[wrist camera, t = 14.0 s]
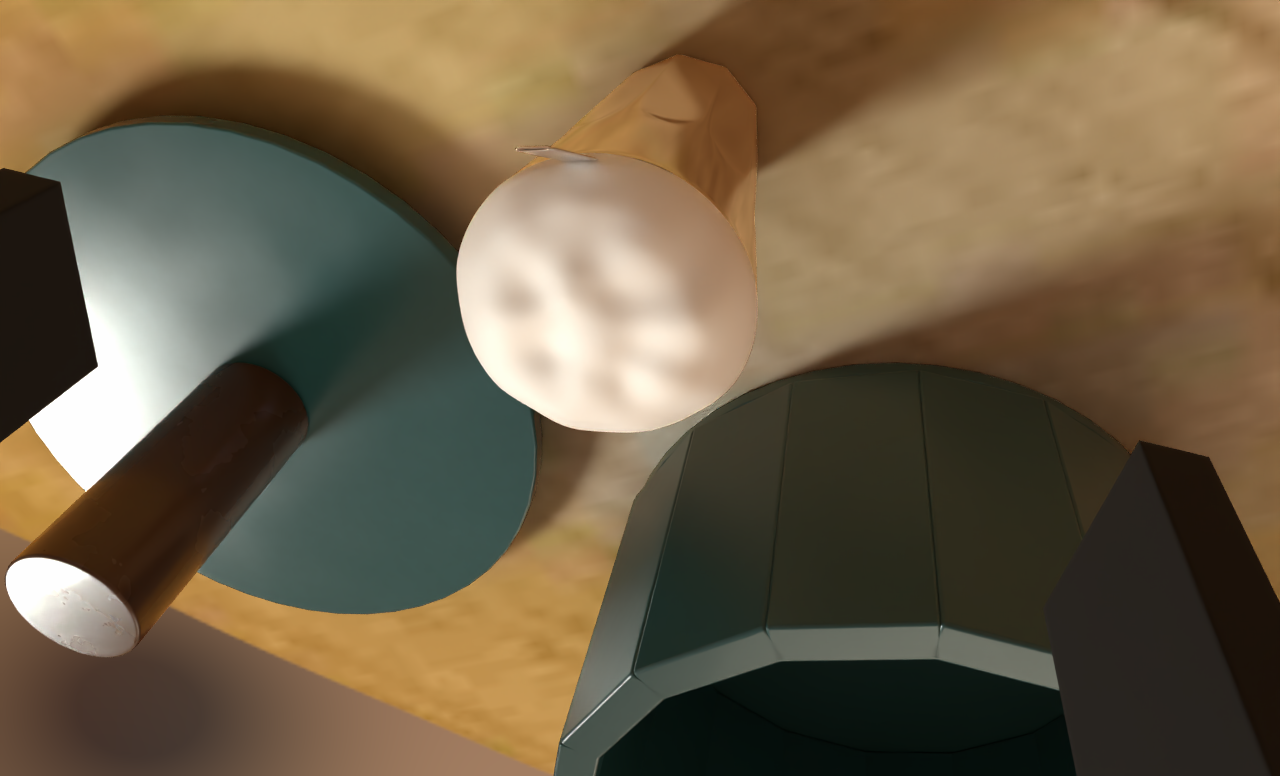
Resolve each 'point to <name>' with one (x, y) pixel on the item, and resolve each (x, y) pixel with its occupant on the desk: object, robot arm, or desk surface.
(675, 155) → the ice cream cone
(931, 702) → the tin
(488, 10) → the desk surface
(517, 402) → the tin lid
